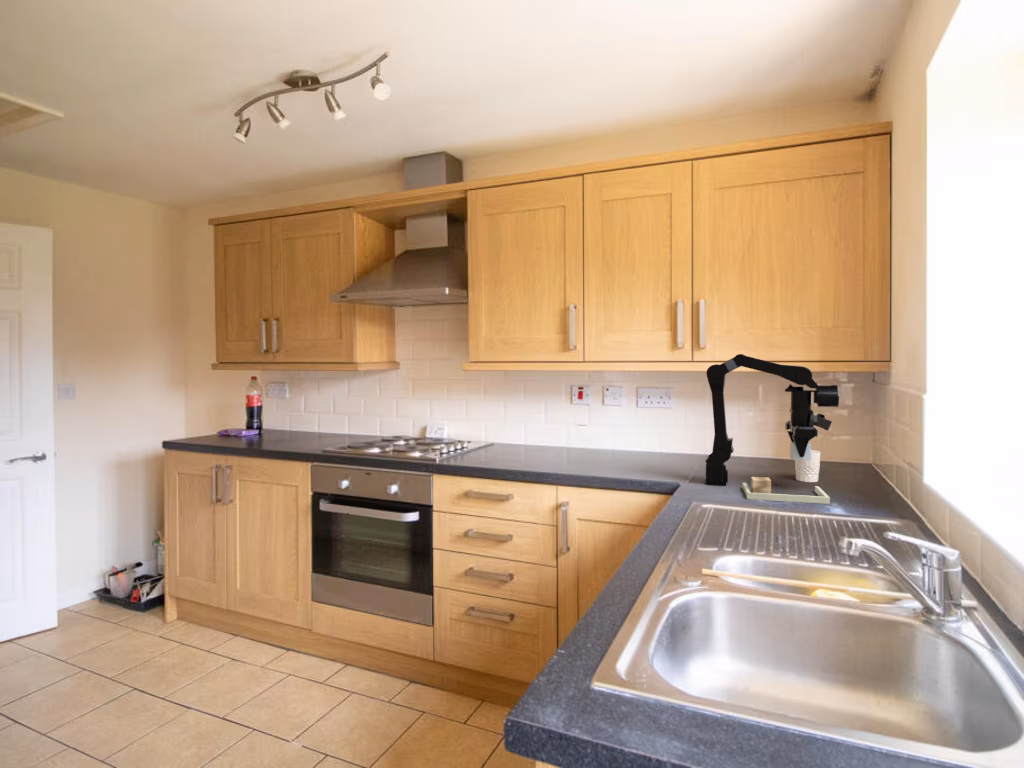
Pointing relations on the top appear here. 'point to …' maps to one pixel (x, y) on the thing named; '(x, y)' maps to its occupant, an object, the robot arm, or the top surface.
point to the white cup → (808, 468)
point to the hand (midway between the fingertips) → (800, 455)
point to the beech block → (760, 485)
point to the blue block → (795, 454)
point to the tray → (789, 496)
